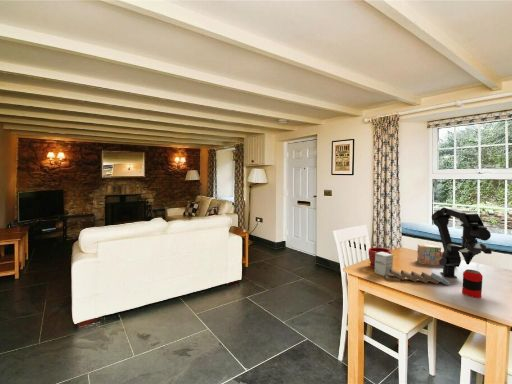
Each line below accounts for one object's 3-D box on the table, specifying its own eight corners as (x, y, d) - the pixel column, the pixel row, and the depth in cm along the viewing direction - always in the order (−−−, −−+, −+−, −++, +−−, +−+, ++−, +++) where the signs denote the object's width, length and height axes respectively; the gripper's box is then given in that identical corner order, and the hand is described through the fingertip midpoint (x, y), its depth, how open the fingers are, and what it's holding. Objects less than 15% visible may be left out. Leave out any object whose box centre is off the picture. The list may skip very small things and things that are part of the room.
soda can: (472, 291, 139) (473, 268, 138) (485, 297, 131) (486, 274, 130) (458, 291, 138) (459, 268, 138) (470, 298, 131) (471, 274, 130)
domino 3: (413, 279, 154) (400, 272, 156) (415, 276, 154) (402, 269, 156) (415, 282, 149) (402, 275, 152) (417, 279, 149) (403, 272, 151)
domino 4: (423, 280, 153) (410, 274, 154) (425, 277, 152) (412, 271, 154) (426, 283, 148) (413, 277, 149) (428, 280, 148) (414, 274, 149)
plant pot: (383, 264, 180) (384, 246, 179) (394, 271, 167) (395, 252, 166) (364, 264, 179) (365, 246, 179) (373, 271, 166) (374, 252, 166)
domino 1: (397, 279, 156) (383, 277, 157) (397, 275, 155) (384, 274, 157) (400, 282, 151) (385, 281, 152) (400, 279, 151) (386, 277, 152)
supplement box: (373, 273, 163) (374, 252, 162) (381, 270, 167) (382, 251, 166) (384, 277, 157) (385, 256, 156) (392, 274, 161) (393, 254, 160)
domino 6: (443, 281, 150) (430, 275, 152) (445, 278, 150) (432, 272, 152) (447, 285, 146) (433, 278, 147) (449, 282, 145) (435, 275, 147)
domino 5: (434, 281, 152) (420, 274, 153) (435, 278, 151) (422, 271, 153) (437, 284, 147) (423, 278, 148) (439, 281, 146) (425, 275, 148)
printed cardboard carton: (452, 264, 181) (453, 246, 180) (456, 267, 175) (457, 249, 174) (416, 260, 188) (417, 243, 187) (419, 263, 182) (419, 245, 181)
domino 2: (402, 277, 156) (389, 270, 158) (403, 274, 155) (390, 268, 158) (403, 280, 151) (390, 273, 153) (405, 277, 151) (391, 270, 153)
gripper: (456, 238, 138) (454, 267, 139) (499, 240, 133) (497, 271, 135) (446, 233, 149) (445, 261, 150) (486, 235, 144) (484, 264, 145)
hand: (467, 264), depth 145 cm, fingers closed
